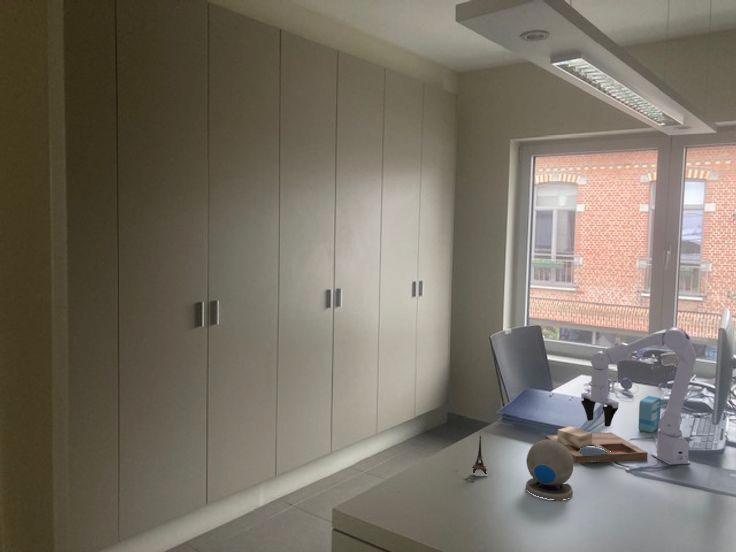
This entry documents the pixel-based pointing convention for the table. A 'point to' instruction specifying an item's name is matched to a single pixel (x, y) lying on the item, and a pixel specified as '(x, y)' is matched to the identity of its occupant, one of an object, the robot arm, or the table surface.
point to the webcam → (550, 470)
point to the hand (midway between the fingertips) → (598, 423)
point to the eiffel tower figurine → (478, 464)
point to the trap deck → (606, 449)
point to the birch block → (574, 437)
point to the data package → (649, 414)
